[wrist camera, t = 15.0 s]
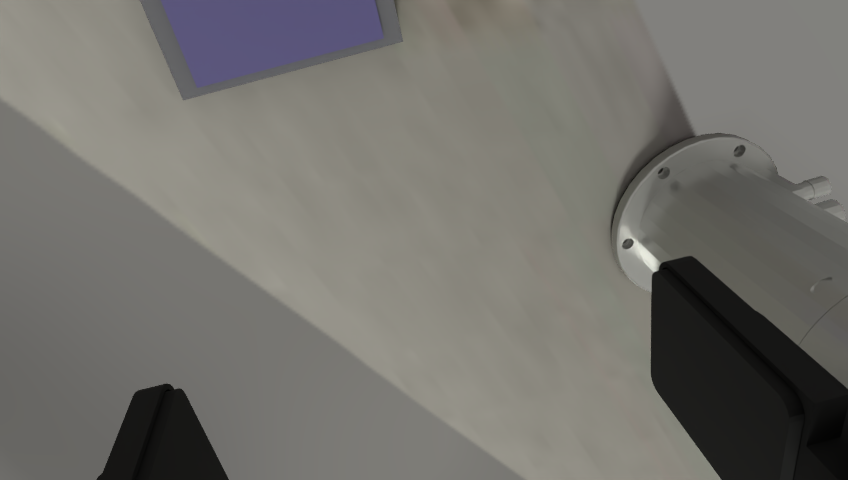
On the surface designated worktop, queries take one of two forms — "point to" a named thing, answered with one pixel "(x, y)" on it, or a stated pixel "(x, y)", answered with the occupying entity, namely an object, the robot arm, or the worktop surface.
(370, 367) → the worktop surface
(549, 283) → the worktop surface
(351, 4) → the ink pad
